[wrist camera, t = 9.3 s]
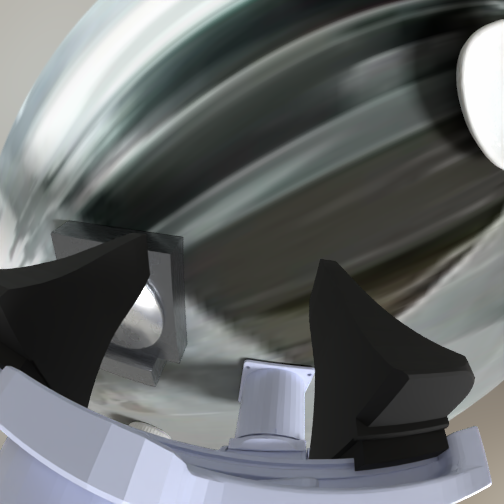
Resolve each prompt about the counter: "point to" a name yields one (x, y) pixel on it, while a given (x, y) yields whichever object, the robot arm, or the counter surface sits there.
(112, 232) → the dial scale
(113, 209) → the counter surface
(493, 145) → the spoon rest
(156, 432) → the ramekin
